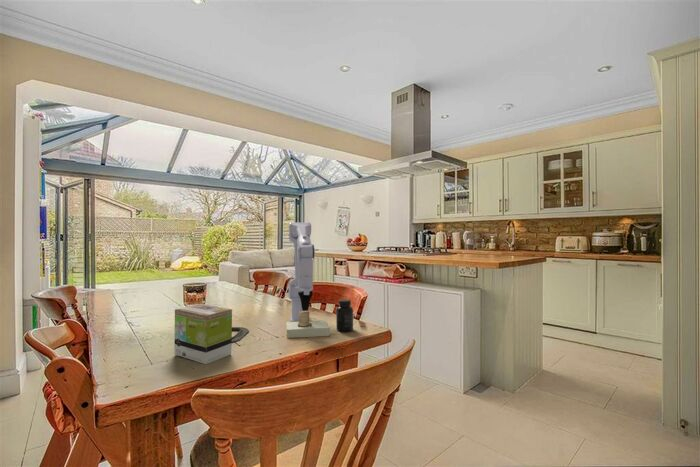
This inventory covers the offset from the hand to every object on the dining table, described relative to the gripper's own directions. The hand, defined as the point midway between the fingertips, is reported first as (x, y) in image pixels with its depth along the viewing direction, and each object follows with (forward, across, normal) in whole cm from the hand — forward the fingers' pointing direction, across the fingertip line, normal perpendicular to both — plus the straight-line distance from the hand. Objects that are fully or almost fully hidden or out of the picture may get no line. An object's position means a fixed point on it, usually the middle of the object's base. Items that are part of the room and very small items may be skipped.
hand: (305, 310), depth 129 cm
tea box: (+9, +19, -33) cm, 39 cm away
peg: (+9, 0, 0) cm, 9 cm away
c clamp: (+10, 0, -31) cm, 32 cm away
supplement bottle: (+9, -1, +16) cm, 18 cm away
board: (+9, 0, +1) cm, 9 cm away
